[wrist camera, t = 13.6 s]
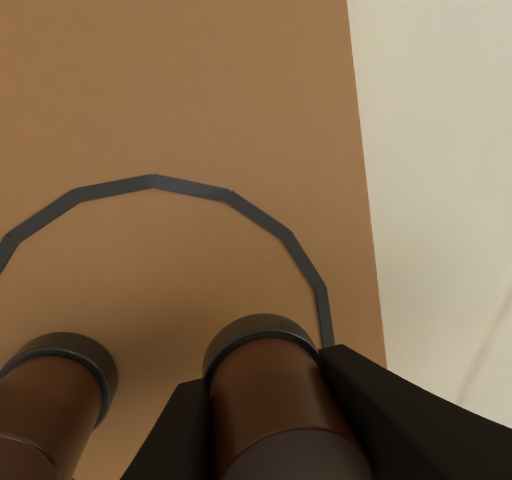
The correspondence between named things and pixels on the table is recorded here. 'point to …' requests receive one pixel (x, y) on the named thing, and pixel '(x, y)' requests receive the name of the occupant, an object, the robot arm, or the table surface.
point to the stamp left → (52, 405)
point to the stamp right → (275, 407)
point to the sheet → (179, 187)
